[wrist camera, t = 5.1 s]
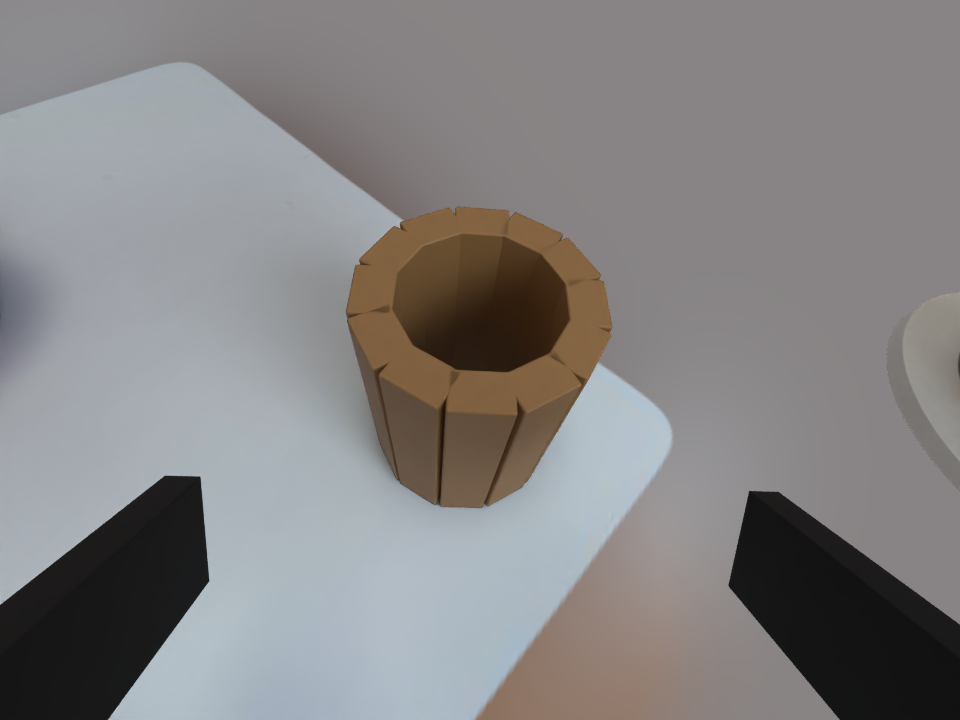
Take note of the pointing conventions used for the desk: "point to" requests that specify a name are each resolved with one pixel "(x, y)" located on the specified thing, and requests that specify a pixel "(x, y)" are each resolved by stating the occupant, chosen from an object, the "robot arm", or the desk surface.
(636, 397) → the desk surface
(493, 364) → the wooden stave tube
